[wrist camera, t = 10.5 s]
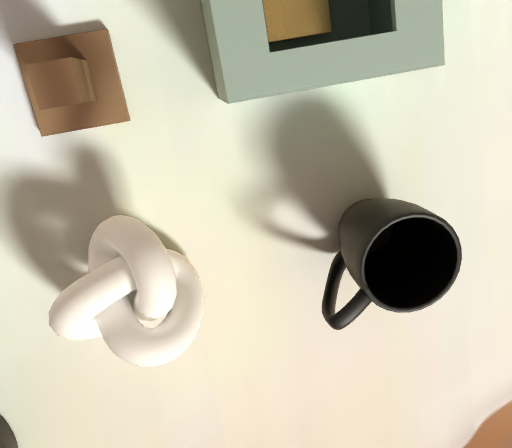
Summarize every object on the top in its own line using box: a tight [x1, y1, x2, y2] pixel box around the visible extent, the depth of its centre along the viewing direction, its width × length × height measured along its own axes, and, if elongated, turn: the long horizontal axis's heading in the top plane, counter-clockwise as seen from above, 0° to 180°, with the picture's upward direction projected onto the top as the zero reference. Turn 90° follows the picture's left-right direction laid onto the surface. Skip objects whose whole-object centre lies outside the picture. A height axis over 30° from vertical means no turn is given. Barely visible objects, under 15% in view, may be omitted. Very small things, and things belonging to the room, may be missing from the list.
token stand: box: [13, 29, 130, 136], centre depth 34 cm, size 7×7×6 cm
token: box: [262, 0, 331, 43], centre depth 36 cm, size 5×5×2 cm
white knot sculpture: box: [49, 215, 204, 367], centre depth 38 cm, size 11×12×9 cm
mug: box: [322, 199, 462, 330], centre depth 40 cm, size 8×12×10 cm
